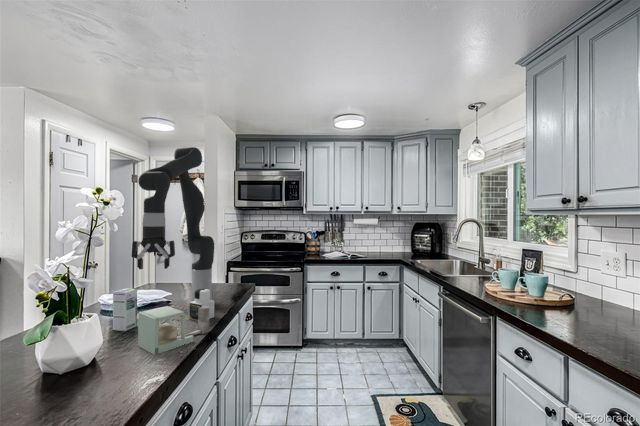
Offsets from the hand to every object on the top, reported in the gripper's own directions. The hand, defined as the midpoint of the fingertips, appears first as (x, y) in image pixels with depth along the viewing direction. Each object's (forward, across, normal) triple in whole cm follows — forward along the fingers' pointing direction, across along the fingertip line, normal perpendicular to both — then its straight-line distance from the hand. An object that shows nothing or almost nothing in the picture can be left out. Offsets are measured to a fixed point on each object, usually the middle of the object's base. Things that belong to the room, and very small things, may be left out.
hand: (153, 268), depth 119 cm
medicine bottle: (+23, -16, -12) cm, 31 cm away
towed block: (+23, -12, +10) cm, 28 cm away
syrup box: (+23, +11, -6) cm, 26 cm away
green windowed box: (+23, -8, +14) cm, 28 cm away
